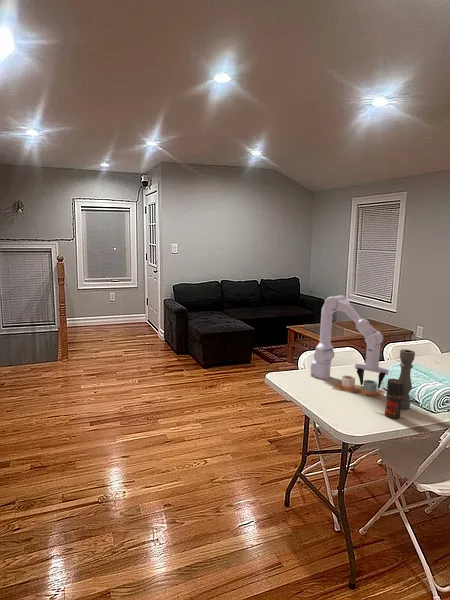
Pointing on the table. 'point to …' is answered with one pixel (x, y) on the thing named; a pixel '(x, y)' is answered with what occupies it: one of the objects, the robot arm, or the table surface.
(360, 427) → the table surface
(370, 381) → the teal sleeve
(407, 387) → the candle holder
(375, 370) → the robot arm
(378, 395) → the pin board
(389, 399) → the deodorant
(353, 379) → the ivory sleeve
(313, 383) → the table surface
